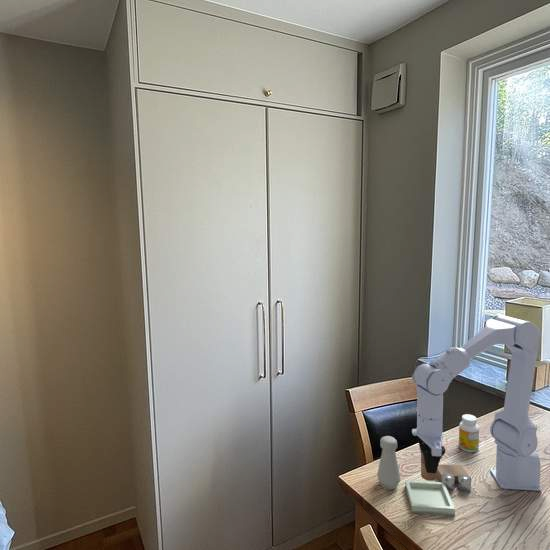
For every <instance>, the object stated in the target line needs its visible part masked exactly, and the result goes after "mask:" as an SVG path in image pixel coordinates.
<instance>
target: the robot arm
mask: <svg viewBox="0 0 550 550" xmlns="http://www.w3.org/2000/svg"><path fill="white" fill-rule="evenodd" d="M540 336H541V329H540V328H539V327H538V326H537V325H536V324H535V323H534V322H533V321H528V320H523V319H518V318H514V317H511V316H507V315H505V314H501V313H497V314H494V315H493V316H492V317H491V318H490V319H488V320H486V322H485V327H483V328H482V329H481V330H480V331H479V332H477V333H476V334H475V335H474V336H472V338H470V339H469V340H467V342H466V343H464V344H463V345H461V346H460V347H457V346H455V347H454V346H452V347H448V348H447V349H445V352H443V353H442V354H440V355H439V356H438V357H436V358H434V359H432V360H431V361H430V362H429V363H422V364H420V365H418V366H416V368H415V370H414V372H413V374H412V375H411V376H412V377H411V379H412V381H413V383H414V384H415V387H416V389H415V390H416V393H417V395H416V396H417V399H416V400H417V402H416V404H417V405H416V408H417V410H416V413H417V414H416V428H412V429H411V433H412V435H413V436H415V437H416V439H417V441H418V442H417V443H418V446H419V451H420V452H421V451H422V453H423V456H424V462H425V468H426V471H427V473H436V471H437V468H438V465H440V461H441V459H442V458H443V456H444V455H445V454H446V450H447V449H446V448H445V446H444V445H442V444H443V440H444V432H443V424H444V423H443V417H444V416H443V413H444V412H443V411H444V393H446V391H447V390H448V388H449V386H450V383H452V382H453V379H454V378H455V377H457V376H459V375H460V374H461V373H462V372H464V371H465V370H467V369H468V368H469V367H470V366H471V360H472V359H473V358H476V357H477V356H478V355H480V354H482V353H484V352H485V351H487V350H488V349H489V350H490V348H491V347H494V346H496V345H503V346H506V347H507V348H508V349H509V351H511V357H510V363H509V371H508V377H507V384H506V392H505V398H504V404H503V405H504V406H503V409H502V410H499V411H497V412H495V413H494V419H493V421H492V422H491V424H490V429H489V432H490V435H491V437H492V438H493V439H494V443H495V444H496V454H495V455H496V461H495V464H496V465H495V468H494V467H490V468H489V471H490V473H491V475H492V476H493V478H494V479H495V481H496V483H497V484H498V485H499V487H500V488H501V489H505V490H506V489H507V490H522V491H536V492H537V491H539V492H541V491H542V488H541V487H540V486H541V485H540V484H541V458H540V456H539V454H538V452H537V448H538V444H539V442H538V436H537V426H536V425H535V423H534V422H533V420H531V418H530V416H529V412H530V404H531V398H532V391H533V385H534V378H535V373H536V366H537V365H536V364H537V358H538V352H539V343H540ZM423 442H425V443H426V444H421V443H423Z"/></svg>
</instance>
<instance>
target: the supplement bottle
mask: <svg viewBox="0 0 550 550" xmlns="http://www.w3.org/2000/svg"><path fill="white" fill-rule="evenodd" d="M477 423H478V419H477V417H476V416H475V415H473V414H469V413H467V414H466V413H465V414H463V415H462V416H461V421H460V422H459V425H458V426H459V431H458V446H459V448H460V449H461V450H462V451H464V452H468V453H476V452H477V451H478V450H479V445H480V427H479V425H478V424H477Z"/></svg>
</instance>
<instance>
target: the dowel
mask: <svg viewBox="0 0 550 550" xmlns="http://www.w3.org/2000/svg"><path fill="white" fill-rule="evenodd" d="M421 444H426V443H425V442H423V443H421ZM420 476H421V478H422V479H424V481H425V480H426V481H429V482H435V481H436V480H437V479H438V478H437V477H438V476H437V471H436V473H427V471H426V468H425V462H424V456H423V453H422V451H420Z"/></svg>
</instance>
